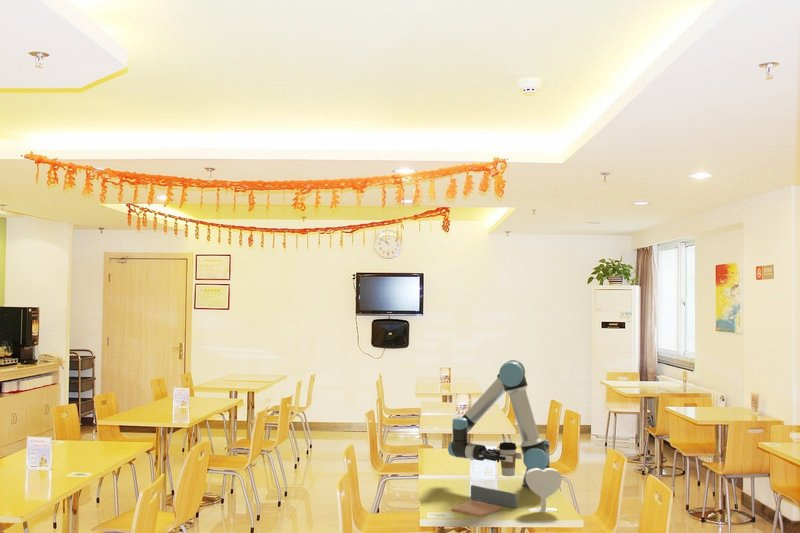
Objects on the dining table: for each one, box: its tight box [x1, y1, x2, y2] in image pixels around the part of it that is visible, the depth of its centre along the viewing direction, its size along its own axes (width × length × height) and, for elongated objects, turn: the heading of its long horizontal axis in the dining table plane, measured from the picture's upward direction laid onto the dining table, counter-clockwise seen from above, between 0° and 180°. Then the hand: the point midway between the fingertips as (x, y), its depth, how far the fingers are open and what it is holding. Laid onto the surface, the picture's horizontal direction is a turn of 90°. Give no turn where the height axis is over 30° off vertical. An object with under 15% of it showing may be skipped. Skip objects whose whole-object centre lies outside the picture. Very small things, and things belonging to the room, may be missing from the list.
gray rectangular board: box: [470, 484, 518, 509], centre depth 313 cm, size 2×24×6 cm, turn 50°
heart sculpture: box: [524, 467, 562, 513], centre depth 303 cm, size 16×5×18 cm, turn 93°
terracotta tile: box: [450, 499, 502, 518], centre depth 302 cm, size 16×16×1 cm
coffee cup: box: [498, 441, 517, 477], centre depth 325 cm, size 8×8×15 cm
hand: (516, 457), depth 322 cm, fingers closed on coffee cup, 8 cm apart
